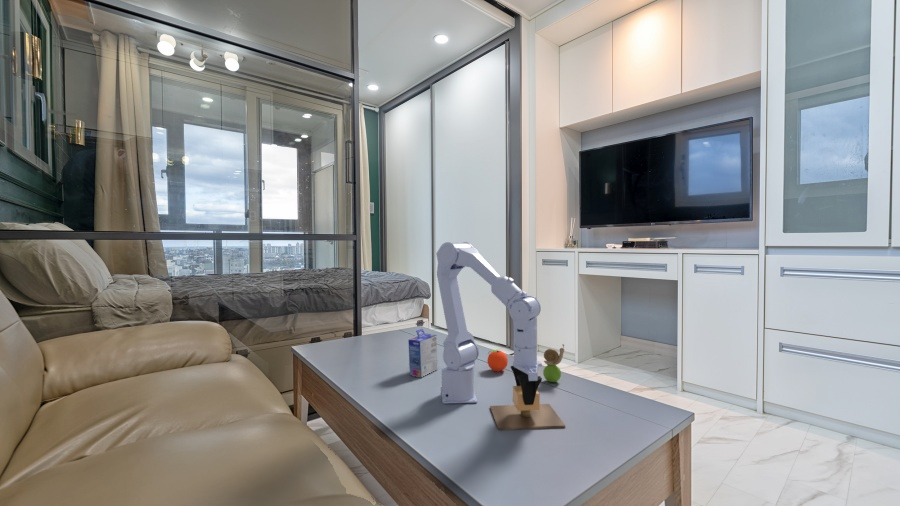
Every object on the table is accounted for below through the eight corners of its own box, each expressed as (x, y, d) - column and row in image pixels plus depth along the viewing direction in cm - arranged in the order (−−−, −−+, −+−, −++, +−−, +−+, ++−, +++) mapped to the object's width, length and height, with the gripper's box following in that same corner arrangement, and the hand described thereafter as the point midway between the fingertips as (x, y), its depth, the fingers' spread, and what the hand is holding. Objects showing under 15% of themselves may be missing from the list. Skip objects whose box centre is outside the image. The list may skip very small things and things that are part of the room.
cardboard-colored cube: (517, 410, 92) (517, 394, 92) (512, 401, 97) (512, 386, 97) (539, 409, 92) (539, 393, 92) (533, 400, 98) (533, 385, 97)
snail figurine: (565, 385, 115) (565, 346, 115) (543, 384, 117) (543, 345, 116) (563, 379, 121) (563, 342, 120) (542, 378, 122) (542, 341, 122)
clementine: (481, 370, 130) (480, 349, 130) (494, 365, 135) (494, 345, 135) (498, 375, 124) (498, 354, 124) (512, 371, 129) (511, 350, 129)
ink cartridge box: (425, 367, 134) (425, 326, 134) (438, 369, 131) (438, 328, 131) (408, 375, 126) (407, 332, 125) (421, 378, 123) (421, 334, 122)
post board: (498, 430, 88) (498, 417, 88) (490, 407, 100) (490, 396, 100) (565, 427, 89) (565, 415, 89) (549, 405, 101) (549, 394, 101)
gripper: (550, 353, 87) (550, 411, 88) (533, 337, 102) (533, 387, 102) (520, 354, 87) (520, 412, 87) (507, 338, 101) (507, 388, 102)
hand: (525, 399), depth 95 cm, fingers closed on cardboard-colored cube, 5 cm apart
